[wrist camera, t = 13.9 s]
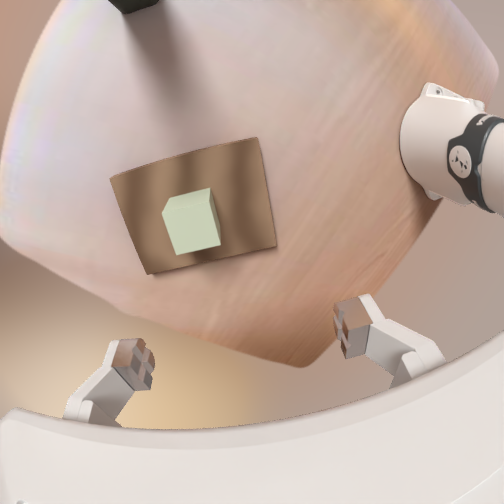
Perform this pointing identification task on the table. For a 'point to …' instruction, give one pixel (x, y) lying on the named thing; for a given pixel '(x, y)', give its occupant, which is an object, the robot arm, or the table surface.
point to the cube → (192, 221)
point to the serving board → (190, 180)
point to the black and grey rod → (132, 5)
